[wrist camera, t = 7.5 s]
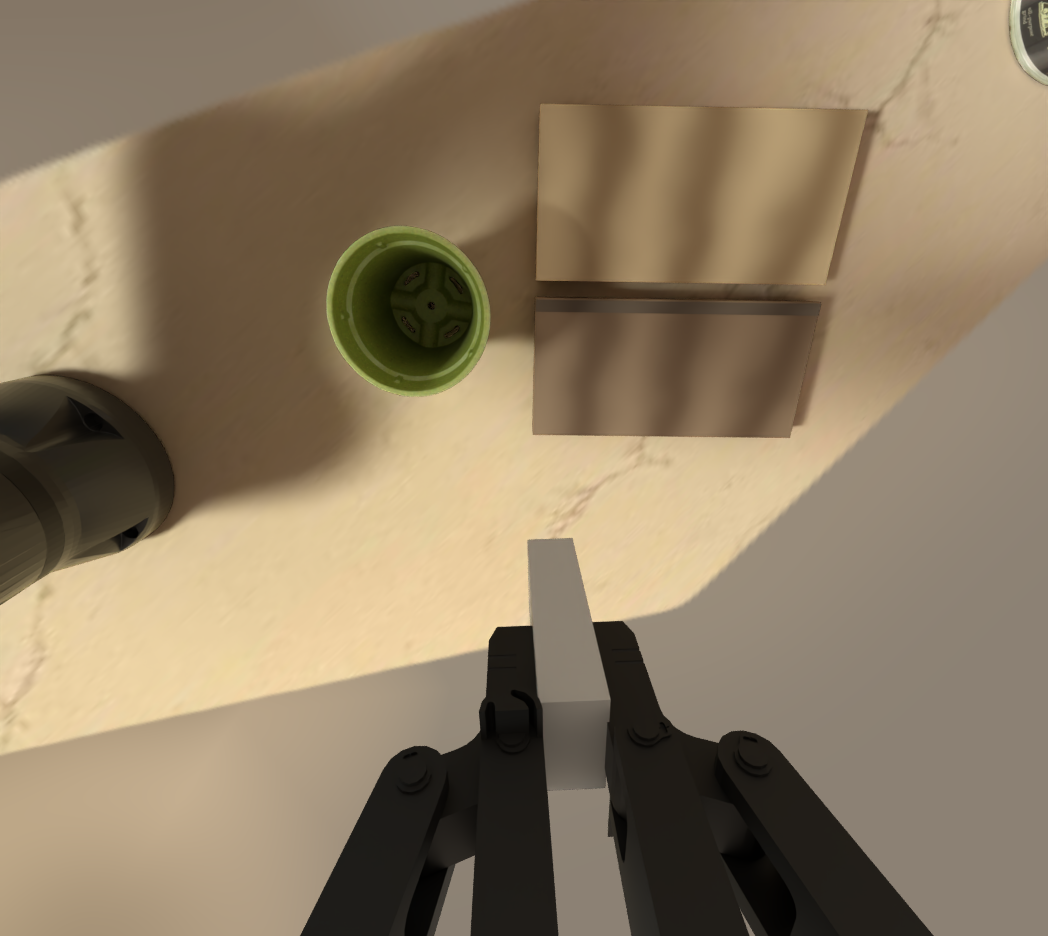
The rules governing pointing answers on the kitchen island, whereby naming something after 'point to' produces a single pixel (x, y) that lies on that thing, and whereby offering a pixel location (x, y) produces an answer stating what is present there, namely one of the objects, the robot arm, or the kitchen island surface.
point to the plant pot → (407, 311)
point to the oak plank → (692, 192)
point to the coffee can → (1030, 36)
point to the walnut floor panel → (669, 366)
